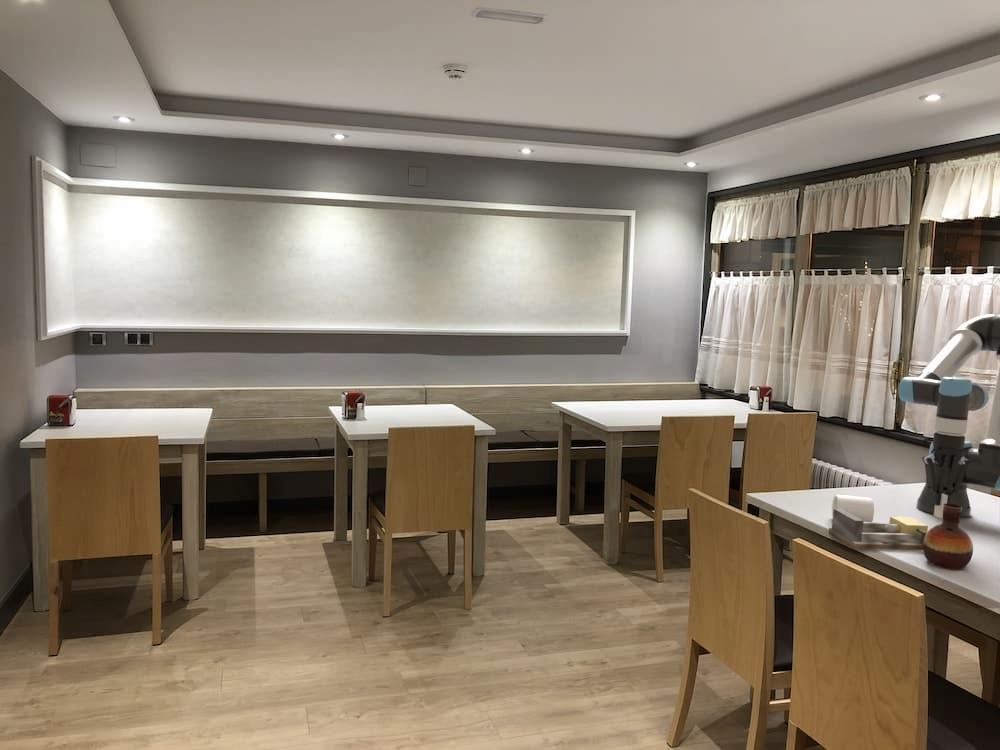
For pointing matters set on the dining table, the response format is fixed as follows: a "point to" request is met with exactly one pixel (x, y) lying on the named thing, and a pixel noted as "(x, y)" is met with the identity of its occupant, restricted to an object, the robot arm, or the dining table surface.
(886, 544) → the bench
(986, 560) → the dining table surface
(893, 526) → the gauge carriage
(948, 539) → the vase
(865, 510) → the mug
